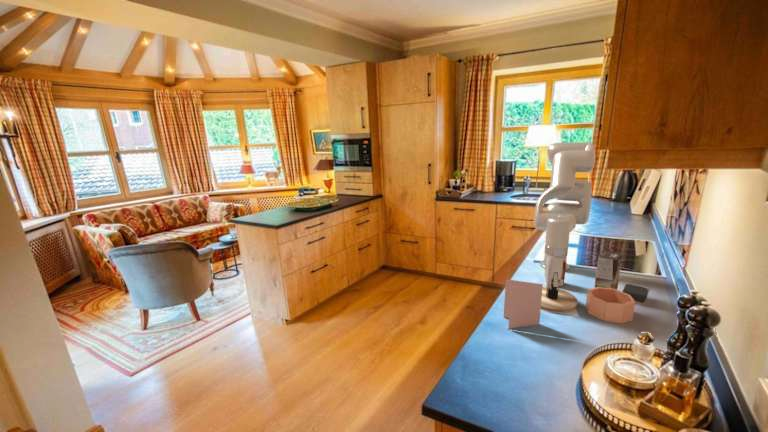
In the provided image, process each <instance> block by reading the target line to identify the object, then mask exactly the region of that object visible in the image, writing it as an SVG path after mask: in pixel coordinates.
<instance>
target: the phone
mask: <svg viewBox="0 0 768 432" xmlns="http://www.w3.org/2000/svg"><path fill="white" fill-rule="evenodd" d="M647 290H649V289H648V288H647V287H643V286H640V285H634V284H632V283H631V284H629V283H626V284H625V285H624V287H623V289H622V292H624V293H627V294H629V295H631V297H632V298H633V299H634V301H635V302H638V303H644V302H645V301H646V296H647V293H648V291H647Z"/></svg>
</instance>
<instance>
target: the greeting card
mask: <svg viewBox="0 0 768 432" xmlns="http://www.w3.org/2000/svg"><path fill="white" fill-rule="evenodd" d="M543 284H544V283H538V282H537V283H535V282H527V281H521V280H520V281H519V280H515V279H505V285H504V286H505V287H504V303H503V318H504V319H508V329H507V330H508V331H510V330H511V329H514V328H521V327H528V326H536V325H540V319H541V311H540V310H541V298H542V287H544V286H543Z"/></svg>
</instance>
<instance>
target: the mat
mask: <svg viewBox="0 0 768 432" xmlns="http://www.w3.org/2000/svg"><path fill="white" fill-rule="evenodd" d="M540 312H546V313H552V314H559V315H566V316H567V315H568V316H575V317H579V316H580V315H579V313H578V310H577V306H576V307H575V308H573V309H570V310H552V309H547V308H544V307H541V310H540Z"/></svg>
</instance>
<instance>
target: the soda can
mask: <svg viewBox="0 0 768 432" xmlns="http://www.w3.org/2000/svg"><path fill="white" fill-rule="evenodd" d="M566 263H567V261H566V262H565V259H563V271H562V280H561V283H559V282H558V285H559V288H561V287H564V286H565V279H566V277H565V276H566V271H565V269H566ZM545 282H546V284H547V283H549V282H547V281H546V280H545Z"/></svg>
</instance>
